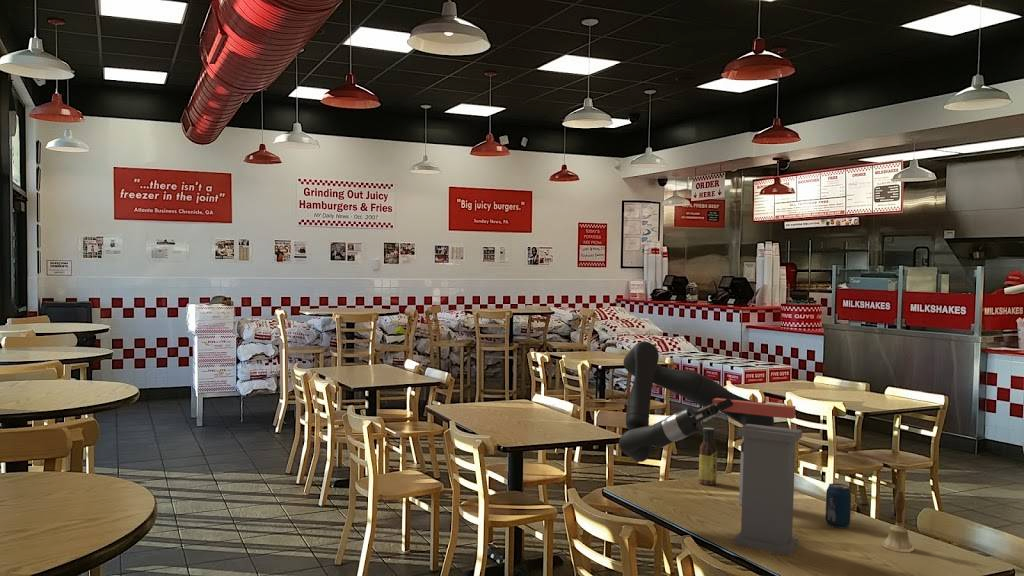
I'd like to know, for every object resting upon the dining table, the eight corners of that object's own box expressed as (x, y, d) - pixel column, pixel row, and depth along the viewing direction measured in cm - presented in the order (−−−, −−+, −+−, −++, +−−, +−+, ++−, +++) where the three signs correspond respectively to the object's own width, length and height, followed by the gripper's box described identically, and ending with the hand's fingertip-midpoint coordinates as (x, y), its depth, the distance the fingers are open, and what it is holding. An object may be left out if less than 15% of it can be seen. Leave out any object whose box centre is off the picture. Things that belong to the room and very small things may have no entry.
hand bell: (921, 552, 222) (923, 494, 221) (893, 553, 220) (895, 494, 220) (901, 542, 230) (903, 486, 230) (875, 543, 228) (877, 486, 228)
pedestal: (734, 544, 224) (737, 428, 223) (744, 535, 232) (747, 423, 232) (790, 555, 216) (794, 435, 215) (798, 545, 224) (802, 430, 224)
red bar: (712, 409, 230) (712, 397, 230) (715, 408, 233) (716, 396, 233) (792, 418, 219) (792, 406, 219) (795, 417, 222) (795, 404, 222)
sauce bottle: (716, 486, 287) (718, 430, 287) (698, 485, 288) (700, 429, 288) (715, 482, 294) (717, 427, 293) (698, 480, 295) (699, 426, 295)
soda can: (850, 524, 246) (851, 484, 246) (849, 530, 240) (850, 489, 240) (826, 520, 249) (827, 481, 249) (824, 526, 243) (825, 486, 243)
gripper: (667, 416, 231) (720, 391, 224) (683, 410, 244) (734, 386, 236) (679, 440, 230) (732, 416, 222) (695, 433, 242) (746, 409, 234)
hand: (733, 400), depth 229 cm, fingers closed on red bar, 3 cm apart
